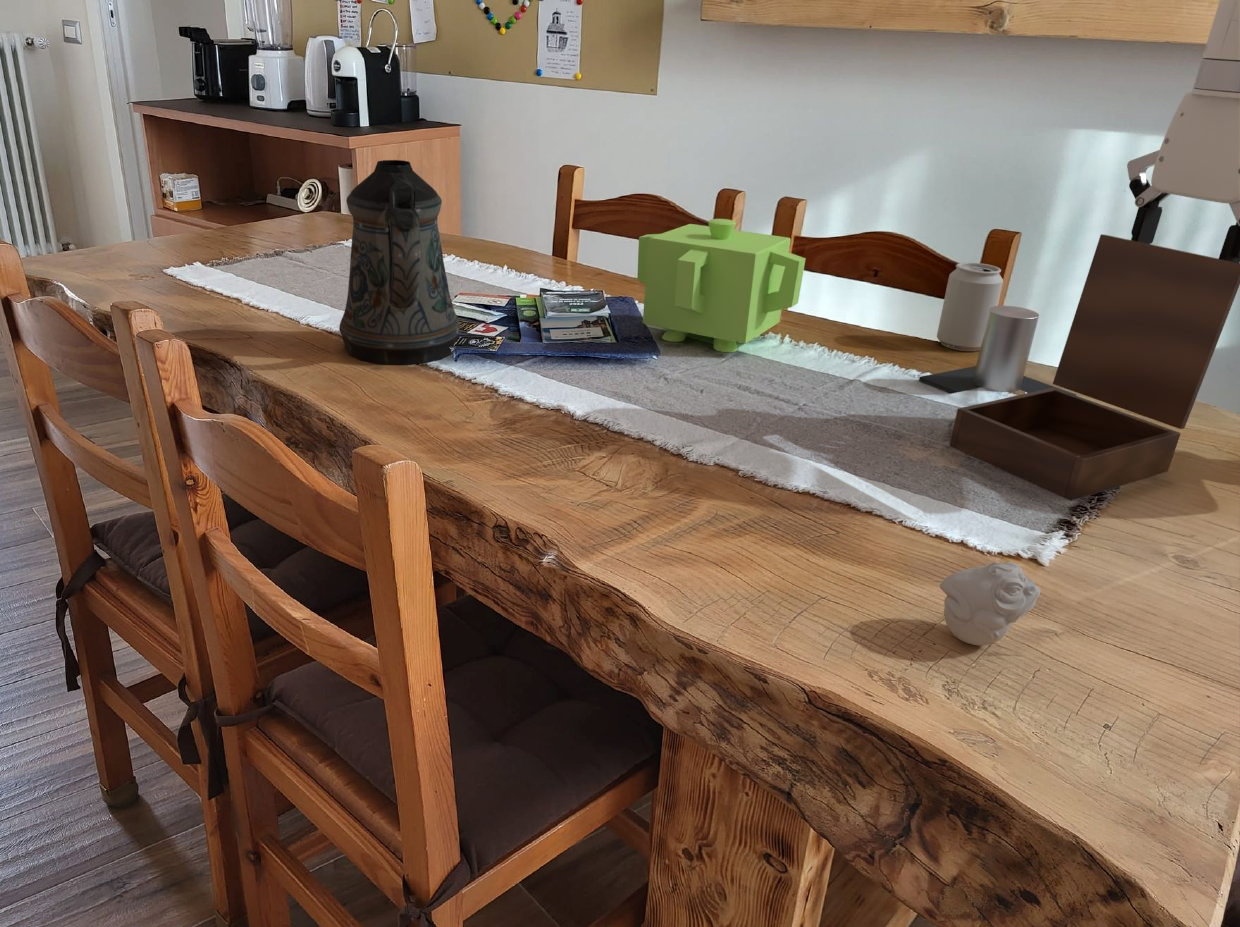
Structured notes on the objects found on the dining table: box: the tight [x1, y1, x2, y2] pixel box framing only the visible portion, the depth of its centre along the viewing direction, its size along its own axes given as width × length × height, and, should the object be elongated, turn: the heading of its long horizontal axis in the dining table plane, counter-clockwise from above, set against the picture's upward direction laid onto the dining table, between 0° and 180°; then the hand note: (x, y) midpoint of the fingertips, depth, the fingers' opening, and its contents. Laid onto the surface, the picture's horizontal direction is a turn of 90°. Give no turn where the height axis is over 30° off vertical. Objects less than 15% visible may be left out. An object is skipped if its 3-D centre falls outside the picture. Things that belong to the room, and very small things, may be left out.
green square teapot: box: [636, 218, 807, 353], centre depth 147 cm, size 25×23×17 cm
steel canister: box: [973, 305, 1040, 393], centre depth 131 cm, size 6×6×10 cm
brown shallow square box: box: [949, 388, 1181, 502], centre depth 110 cm, size 17×16×5 cm
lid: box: [1052, 233, 1240, 430], centre depth 110 cm, size 17×16×5 cm
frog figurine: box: [939, 561, 1041, 646], centre depth 77 cm, size 6×7×7 cm
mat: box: [918, 365, 1077, 396], centre depth 133 cm, size 14×14×1 cm
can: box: [936, 262, 1004, 352], centre depth 148 cm, size 8×8×12 cm
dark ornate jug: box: [338, 159, 461, 366], centre depth 134 cm, size 16×19×25 cm
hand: (1183, 253), depth 107 cm, fingers open, 9 cm apart
